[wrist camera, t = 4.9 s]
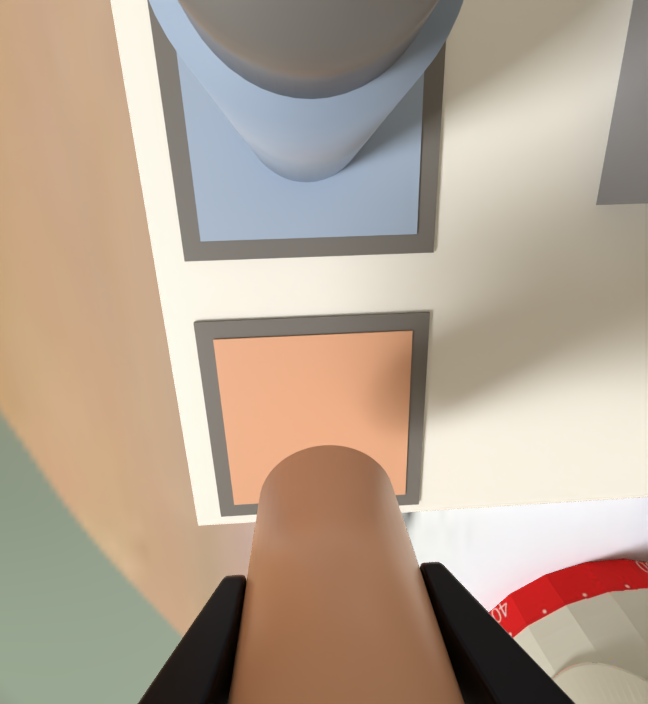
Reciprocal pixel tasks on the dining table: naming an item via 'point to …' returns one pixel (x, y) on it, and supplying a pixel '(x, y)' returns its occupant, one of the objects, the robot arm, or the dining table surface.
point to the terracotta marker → (336, 593)
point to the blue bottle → (307, 69)
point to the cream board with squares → (416, 269)
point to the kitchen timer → (586, 629)
